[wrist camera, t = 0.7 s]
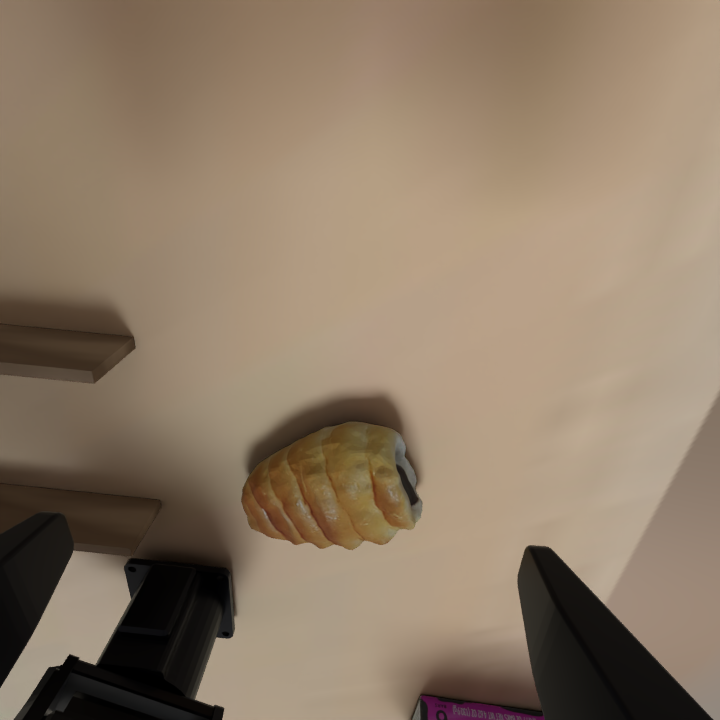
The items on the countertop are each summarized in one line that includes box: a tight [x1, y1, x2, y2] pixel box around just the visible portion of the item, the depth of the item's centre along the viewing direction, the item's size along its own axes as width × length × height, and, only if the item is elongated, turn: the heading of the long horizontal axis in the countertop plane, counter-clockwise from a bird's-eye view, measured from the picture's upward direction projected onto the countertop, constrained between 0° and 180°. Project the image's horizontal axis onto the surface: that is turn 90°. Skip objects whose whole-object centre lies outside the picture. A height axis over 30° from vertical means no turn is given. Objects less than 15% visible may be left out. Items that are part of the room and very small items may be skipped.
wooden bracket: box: [0, 324, 161, 556], centre depth 23 cm, size 11×13×4 cm
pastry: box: [241, 421, 422, 550], centre depth 23 cm, size 9×7×4 cm
